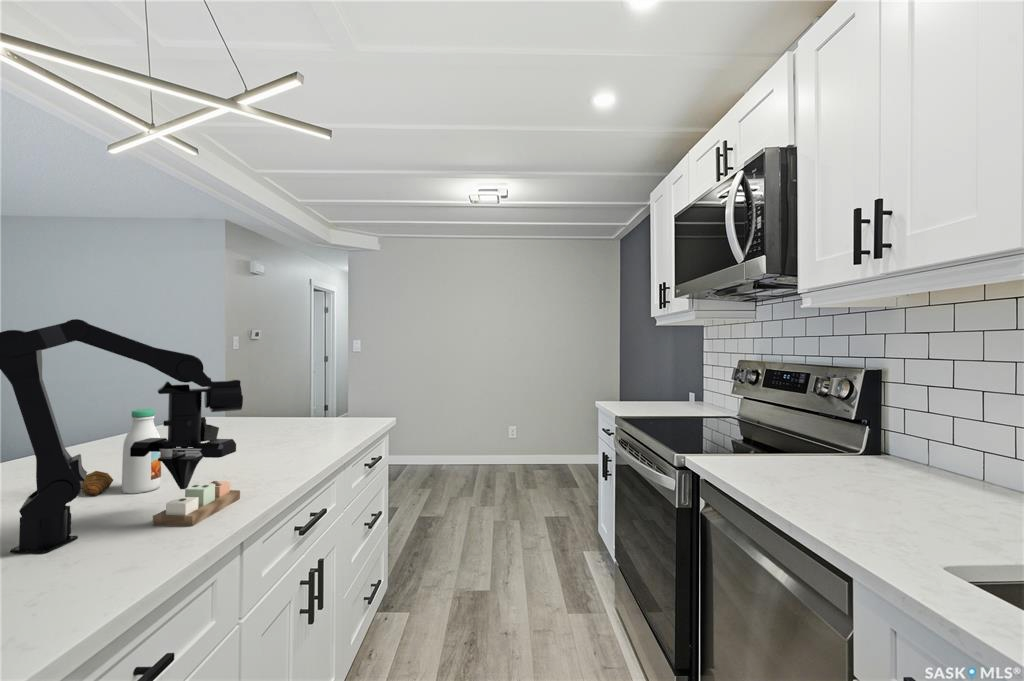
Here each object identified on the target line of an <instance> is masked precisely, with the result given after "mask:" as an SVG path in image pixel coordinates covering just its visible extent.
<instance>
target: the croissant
mask: <svg viewBox="0 0 1024 681" xmlns="http://www.w3.org/2000/svg"><path fill="white" fill-rule="evenodd" d="M113 481H114V478H112V476H110V474H109V473H108V472H104V471H99V470H95V471H92V472H91V473H87V475H86V478H85V481H83V484H82V487H81V491H82V492H83V493H84V494H85V495H86V496H89V497H95V496H98V495H101V494H102V493H104V492H106V490H107V489H108V488H109V487H110V486H111V485H112V483H113Z"/></svg>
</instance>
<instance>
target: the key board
mask: <svg viewBox="0 0 1024 681" xmlns="http://www.w3.org/2000/svg"><path fill="white" fill-rule="evenodd" d="M239 500H241V490H237V489H234V490H232V489H230V492H229V493H227V494H225V495H223V496H221V497H215V500H214V501H212V502H210V503H208V504H206V505H204V506H198V509H197V510H195V511H193V512H191V513H189V514H187V515H166V509H164V510H162V511H159V512H158V513H155V514H154V515H152V526H156V527H157V526H160V527H163V526H165V527H193V526H195V525H197V524H199V523H200V522H202V521H204V520H205V519H207V518H209V517H211V516H213V515H214V514H216V513H218V512H220V511H221V510H223V509H225V508H226V507H228V506H229V505H233V503H235V502H237V501H239Z"/></svg>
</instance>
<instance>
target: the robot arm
mask: <svg viewBox="0 0 1024 681" xmlns="http://www.w3.org/2000/svg"><path fill="white" fill-rule="evenodd" d="M72 342H80V343H83V344H86V345H89V346H91V347H95V348H97V349H101V350H104V351H107V352H109V353H112V354H116V355H118V356H121V357H124V358H127V359H131V360H133V361H137V362H139V363H142V364H145V365H147V366H149V367H151V368H153V369H155V370H157V371H159V372H160V373H163V374H165V375H166V376H168V377H170V378H172V379H174V380H176V381H178V382H179V383H180V382H181V383H194V384H196V385H198V386H200V387H202V388H190V384H172V383H171V382H169V381H165V383H164V384H163V385H162V386H160V388H158V389H157V390H156V391H157V393H158V394H159V395H164V394H165V395H168V406H167V407H168V409H167V410H168V411H167V414H168V415H167V420H163V427H167V438H166V437H160V438H148V439H145V440H141V441H137V442H134V443H133V445H132V446H131V447H130V457H144V456H146V455H147V454H148V453H149V452H161V457H160V458H158V461H161V463H162V464H163V465H164V466H165V468H166V469H167V470H168V472H169V473H170V475H171V476H172V478H173V479H174V481H175V483H176V485H177V486H178V488H179V489H180V490H185V489H187V488H189V486H190V482H191V480H192V477H193V475H194V473H195V470H196V468H197V466H198V464H199V463H200V462H201V461H202V460H203V458H206V459H208V458H209V459H210V458H213V459H218V458H223V457H226V456H228V455H230V454H233V453H236V452H237V443H236V442H235V440H234V438H218V435H219V430H220V427H218V426H215V425H211V424H208V423H207V419H206V416H202V401H203V400H202V396H203V394H202V393H204V401H203V402H204V403H203V404H204V408H205V409H208V408H209V410H210V413H221V412H233V411H234V412H235V411H236V412H237V411H242V409H243V403H244V395H243V392H242V387H241V386H242V385H241V380H240V379H230V380H217V381H215V380H214V381H212V378H211V377H210V376H208V375H207V374H206V373H205V371H204V364H203V362H202V360H201V359H200V358H199V357H198V356H195V355H193V354H188V353H185V352H184V353H183V352H179V351H174V350H168V349H164V348H159V347H153V346H151V345H149V344H147V343H146V344H145V343H143V342H140V341H137V340H135V339H131V338H130V337H126V336H123V335H120V334H118V333H114V332H113V331H109V330H107V329H103V328H101V327H98V326H95V325H93V324H90V323H89V322H87V321H85V320H82V319H78V318H77V319H76V318H75V319H74V318H73V319H70V320H67V321H66V322H63V323H58V324H57V323H56V324H54V325H50V326H46V327H41V328H36V329H32V330H29V331H26V330H21V329H9V330H8V329H7V330H5V331H4V330H3V331H0V371H1V373H2V374H3V376H5V378H6V379H7V380H8V382H9V383H10V384H11V386H12V389H13V392H14V396H15V398H16V401H17V405H18V407H19V410H20V414H21V417H22V419H23V424H24V426H25V429H26V432H27V434H28V435H27V436H28V438H29V441H30V444H31V448H32V451H33V452H34V456H35V460H36V462H35V463H36V466H35V467H36V469H35V478H36V479H35V481H36V490H35V491H33V492H32V493H31V494H30V495H29V496H28V497H26V500H24V502H23V504H22V506H21V507H20V508H19V511H18V512H19V514H20V517H19V529H18V530H19V538H18V546H14V547H12V548H10V549H9V553H18V554H19V553H21V554H22V553H23V554H25V553H26V554H28V553H29V554H30V553H32V554H44V553H48V552H51V551H53V550H55V549H57V548H60V547H63V546H64V545H66V544H69V543H71V542H73V541H75V540H77V539H79V535H71V534H72V513H71V505H67V504H69V503H71V502H72V501H73V500H75V499H77V497H78V496H79V494H80V492H81V491H82V489H81V487H82V484H83V481H85V478H86V475H88V471H87V470H86V469H84V467H83V464H82V454H81V453H79V454H77V455H74V456H71V454H70V453H69V452H68V451H67V448H65V445H64V441H63V439H62V438H63V437H62V435H61V433H60V428H59V426H58V424H57V420H56V417H55V414H54V410H53V407H52V404H51V402H50V399H49V395H48V391H47V388H46V386H45V385H46V384H45V383H44V380H43V352H42V351H43V350H47V349H52V348H55V347H58V346H62V345H65V344H69V343H72Z"/></svg>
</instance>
